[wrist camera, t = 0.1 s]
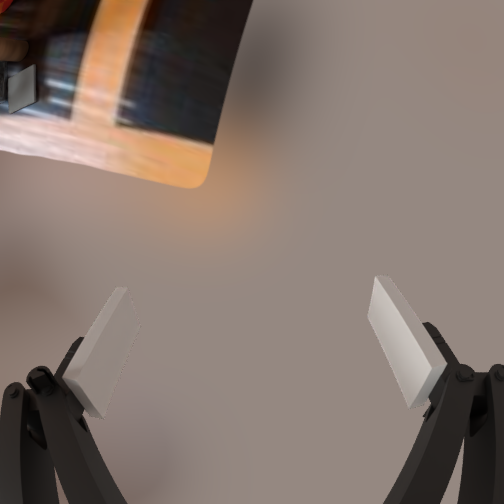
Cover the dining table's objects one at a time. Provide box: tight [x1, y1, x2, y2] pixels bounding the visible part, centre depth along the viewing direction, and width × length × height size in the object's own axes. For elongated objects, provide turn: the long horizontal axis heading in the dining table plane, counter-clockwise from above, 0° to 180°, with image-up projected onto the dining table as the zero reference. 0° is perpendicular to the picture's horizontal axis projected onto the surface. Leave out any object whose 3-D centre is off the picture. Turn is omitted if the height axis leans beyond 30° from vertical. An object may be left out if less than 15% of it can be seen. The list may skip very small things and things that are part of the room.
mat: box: [8, 65, 36, 114], centre depth 31 cm, size 7×7×1 cm
